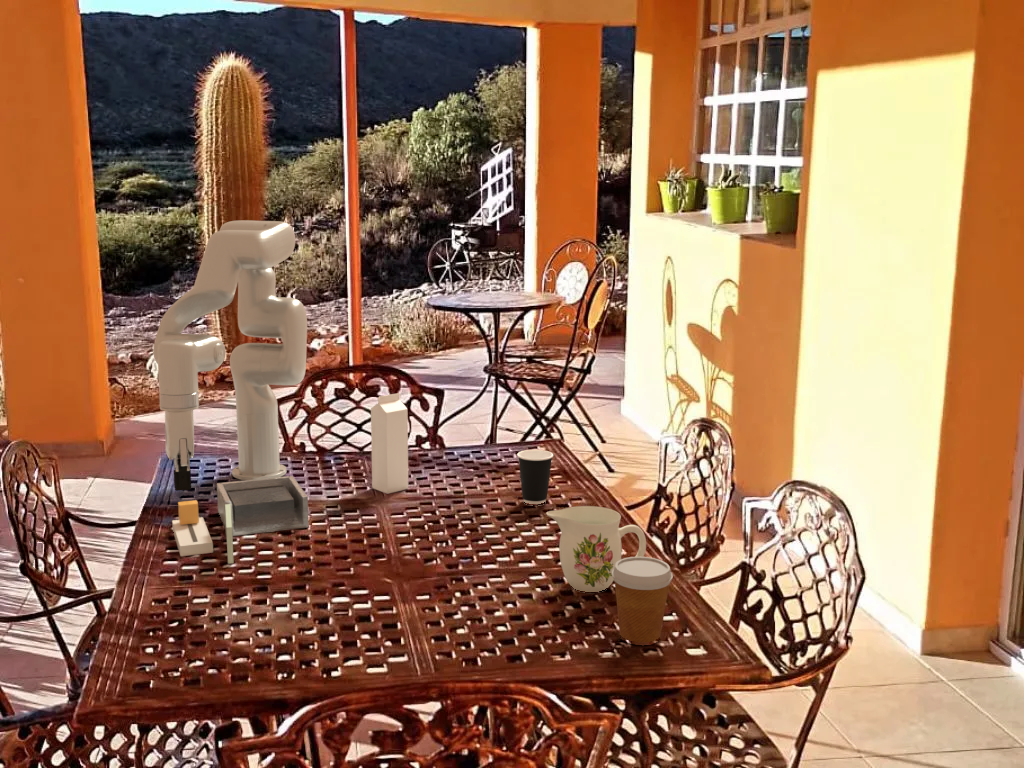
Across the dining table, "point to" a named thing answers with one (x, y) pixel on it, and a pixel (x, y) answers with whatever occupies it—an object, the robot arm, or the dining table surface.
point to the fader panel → (192, 538)
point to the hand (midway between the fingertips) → (182, 488)
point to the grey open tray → (264, 505)
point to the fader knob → (188, 512)
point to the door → (229, 530)
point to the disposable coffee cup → (641, 596)
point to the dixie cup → (534, 475)
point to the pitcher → (591, 545)
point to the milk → (389, 444)
